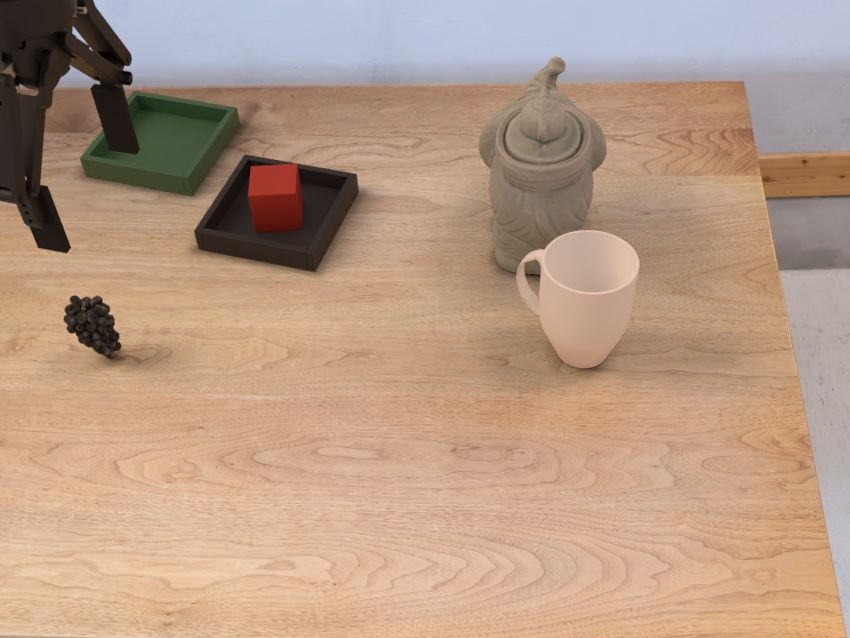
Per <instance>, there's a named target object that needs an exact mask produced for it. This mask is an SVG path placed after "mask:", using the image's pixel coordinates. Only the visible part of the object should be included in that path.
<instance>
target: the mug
mask: <svg viewBox="0 0 850 638" xmlns="http://www.w3.org/2000/svg"><path fill="white" fill-rule="evenodd" d="M532 260H537V261H538V262H539V263H540V266H541V275H540V280H539V292H538V293H539V294H538V296H536V293H534V291H533V290H532V288H531V286H530V285H529V282H528V280H527V277H526V273H525V272H524V266H525V263H526V262H529V261H532ZM639 271H640V259H639V255H638V253H637V252H636V250H635V249H634V247H633V246H632V245H631V244H630V243H628V242H627V241H626V240H625V239H624V238H623V239H622V238H621V237H619V236H617V235H615V234H613V233H610V232H606V231H600V230H594V229H591V230H590V229H588V230H581V231H574V232H570V233H566V234H564V235H561V236H559V237H557V238H556V239H554V240H553V241H552V242H550V243H549V244H548V246H547V247H546V248H545V250H542V249H539V250H535V251H532V252H530V253H529V254H527V255H526V256H525V257H524V259H523V260H522V261H521V263H520V265H519V267H518V270H517V273H516V274H515V275H516V278H515V280H516V286H517V289H518V292H519V295H520V296H521V298H522V300H523V301H524V302H525V304H526V305H527V306H528V308H529V309H530V310H531V311H532V312H533V313H534V314H535V315H536V316H537V317H538V318H539V320H540V325H541V327H542V330H543V332H544V335H546V337H547V339H548V341H549V342H550V344H551V346H552V347H553V349H554V351H555V353H556V355H557V356H558V358H559V359H560V360H561V361H562V362H563V363H565V364H566V365H568V366H570V367H573V368H577V369H590V368H594V367H595V368H596V367H597V366H600V365H601V364H602V363H603V362H604V361H605V360H606V359H607V358H608V356H609V355H610V353H611V352H612V351H613V349H614V348H615V347H616V345H617V344H618V343H619V341H621V339H622V338H623V336H624V334H625V332H626V331H627V328H628V325H629V322H630V319H631V315H632V310H633V306H634V299H635V295H636V288H637V283H638V278H639Z"/></svg>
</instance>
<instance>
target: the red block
mask: <svg viewBox="0 0 850 638" xmlns="http://www.w3.org/2000/svg"><path fill="white" fill-rule="evenodd" d="M248 197H249V202H250V207H251V212H252V216H253V221H254V226H255V231H256V232H268V231H286V230H301V229H302V210H303V198H302V191H301V185H300V179H299V173H298V167H297V164H284V165H265V166H251V170H250V181H249V193H248Z"/></svg>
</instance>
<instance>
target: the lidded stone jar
mask: <svg viewBox="0 0 850 638" xmlns="http://www.w3.org/2000/svg"><path fill="white" fill-rule="evenodd" d="M565 71H566V62H565V60H564V59H562V58H561V57H559V56H553V57H550V59H549V60H548V63H547V64H546V65H545V66H544V67H543V68H541V69H540V70H538V71H537V72H536V73H535V74H534V75H533V76H531V78H530V79H529V80H528V82H527V84H526V87H525V90H524V94H523V96H520V97H518V98H516V99H514V100H512V101H510V102H509V103H508V104H507V105H505V106H504V107H502V108H500V109H499V110H498V111H496V112H495V113H494V114H493V115H492V116H491V117H490V118H489V120H488V121H487V122H486V123H485V125H484V127H483V128H482V130H481V133H480V136H479V139H478V150H479V151H478V152H479V155H480V158H481V160H482V162H483V164H485V165H486V166H487V167H488V168H489V170H490V174H489V183H488V195H489V202H490V204H491V209H492V211H493V215H494V219H493V222H492V235H493V238H494V241H495V246H494V247H495V248H494V257H495V261H496V263H497V265H498V266H499V267H501V268H502V269H504V270H505V271H509V272H511V273H516V274H517V270H518V267H519V265H520V263H521V261H522V260H523V259H524V257H525V256H526V255H527V254H529V253H530V252H532V251H535V250H539V249H542V250H545V248H546V247H547V246H548V244H549V243H550V242H552V241H553V240H554V239H556V238H557V237H559V236H561V235H564V234H566V233H570V232H574V231H581V230H589V220H588V214H589V210H590V208H591V204H592V202H593V195H594V175H593V173H594V172H595V171H597V169H599V168H600V167H601V166H602V165H603V163H604V161H605V159H606V157H607V149H608V148H607V141H606V138H605V134H604V131H603V130H602V127H601V125H600V124H599V122H598V121H597V120H595V119H594V118H593V117H592V116H590V115H589V114H587V113H586V112H584V111H582V110H581V109H580V108H579V107H578V106H577V105H576V104H575V102H574V101H573V99H571V98H570V97H569V96H568V95H566V94H565V93H564V92H560V91H558V87H557V80H558V77H559V76H560V75H561V74H562V73H564V72H565ZM524 272H525V275H526V274H527V275H528V274H529V275H530V274H532V275H539V276H541V266H540V263H539V262H538V261H537V260H532V261H529V262H526V263H525V266H524Z"/></svg>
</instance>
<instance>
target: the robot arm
mask: <svg viewBox="0 0 850 638" xmlns="http://www.w3.org/2000/svg"><path fill="white" fill-rule="evenodd" d="M73 28H74V29H75V31H76V32H77V33H78V34H79V35H80V37H81V38H82V39H83V40H81V39H79V38H78V37H77V35H76V34H74V33H73V32H74V31H73V30H74V29H73ZM132 61H133V56H132V53H131V51H129V49H128V48H127V46H126V45H125V44H124V42H123V41H122V40H121V38H120V37H119V36H118V34H117V33H116V32H115V30H114V29H113V28H112V26H111V25H110V24H109V22H108V20H106V19H105V17H104V16H103V14H102V13H101V11H100V10H99V8H97V6H96V4H95V0H0V202H2V203H8V204H14V205H16V207H17V210H18V213H19V215H20V217H21V219H22V222H23V224H24V225H25V226H26V227H29V230H30V231H31V234H32V237H33V239H34V242H35V244H36V246H37V249H40V250H46V251H51V252H56V253H57V252H58V253H62V254H68V253H69V252H70V250H71V249H72V246H71V243H70V241H69V238H68V236H67V233H66V230H65V227H64V225H63V222H62V219H61V217H60V215H59V212H58V210H57V206H56V204H55V200H54V199H53V195H52V193H51V191H50V187H49V186H48V185H44V184H41V181H42V169H43V166H42V165H43V154H44V142H45V141H44V140H45V127H46V126H45V125H46V112H47V111H48V109H49V108H51V107H52V105H53V100H54V99H53V97H54V90H55V88H56V87H57V86H58V84H59V82H60V80H61V78H62V77H64V76H66V75H67V74H68V73H69V72H70V70H71V67H72V68H74V69H75V70H77V71H78V72H80V73H82V74H83V75H85V76H87V77H89V78H90V79H92V80H94V81H96V82H99V84H98V83H93V84H92V86H91V87H90V92H91V97H92V99H93V102H94V105H95V108H96V112H97V115H98V118H99V121H100V124H101V127H102V130H103V131H104V134H105V137H106V140H107V143H108V147H109V150H111V151H117V152H123V153H129V154H135V155H137V153H138V152H139V151H140V148H139V144H138V141H137V137H136V134H135V130H134V127H133V123H132V120H131V116H130V113H129V105H128V102H127V98H128V97H127V96H126V92H125V88H124V86H129V87H130V86H132V84H133V80H134V76H133V75H134V74H133V73H132V71H128V70H124V69H125V67H130V66H131V64H132ZM20 85H21V86H22V87H24V88H25V89H29V90H30V91H31V90H32V91H37V94H36V95H31V94H25V93H24V94H23V93H21V86H20Z"/></svg>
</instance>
